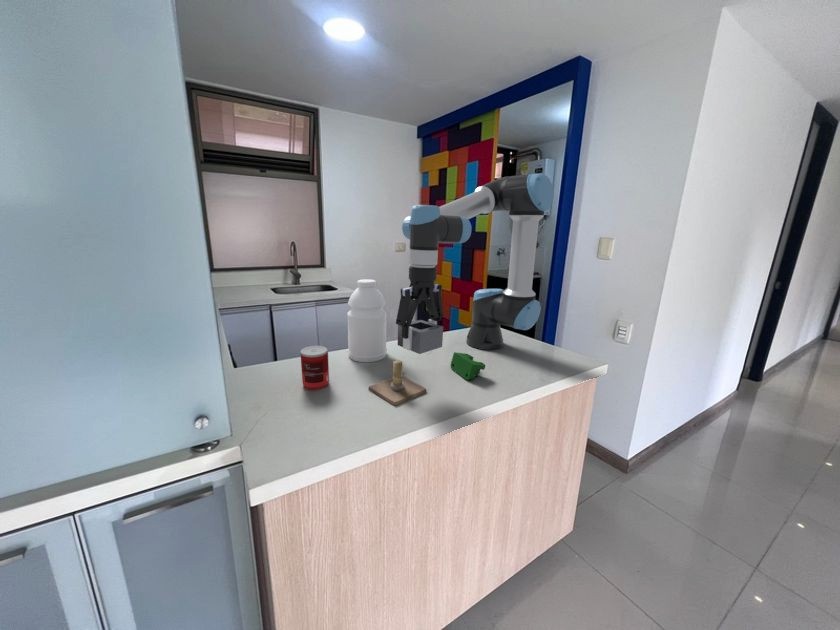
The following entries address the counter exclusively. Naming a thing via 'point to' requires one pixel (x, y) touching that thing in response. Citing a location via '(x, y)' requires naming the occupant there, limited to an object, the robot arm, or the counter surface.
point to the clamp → (466, 365)
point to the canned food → (315, 367)
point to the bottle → (366, 323)
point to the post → (397, 387)
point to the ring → (423, 336)
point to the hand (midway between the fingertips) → (419, 345)
